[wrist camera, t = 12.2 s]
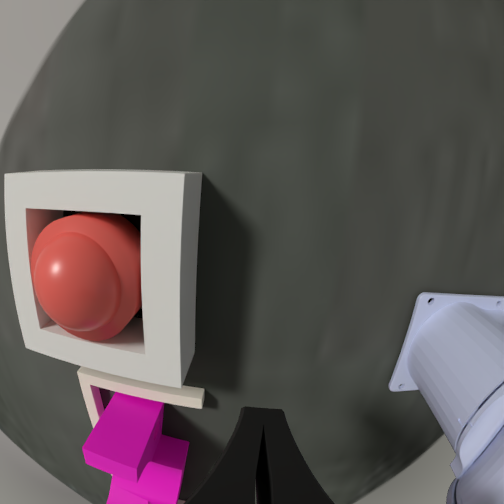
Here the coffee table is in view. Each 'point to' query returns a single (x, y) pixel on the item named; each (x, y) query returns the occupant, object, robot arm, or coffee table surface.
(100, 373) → the frame
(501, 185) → the coffee table surface
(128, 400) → the toy block
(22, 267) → the dome housing
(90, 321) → the dome
